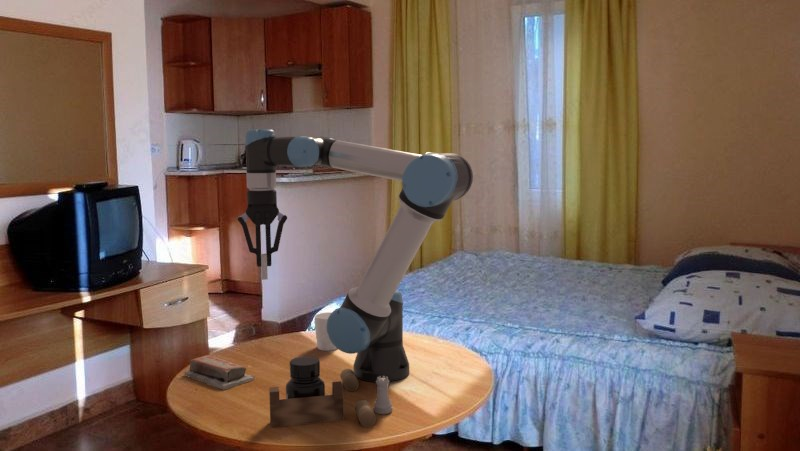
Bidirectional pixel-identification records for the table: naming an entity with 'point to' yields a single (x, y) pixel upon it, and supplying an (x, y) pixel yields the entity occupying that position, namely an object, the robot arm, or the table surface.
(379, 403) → the rook chess piece
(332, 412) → the rail
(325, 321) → the white cup
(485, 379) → the table surface
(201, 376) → the packaged product
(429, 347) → the table surface
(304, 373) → the ink bottle
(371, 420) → the roller
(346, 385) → the roller
